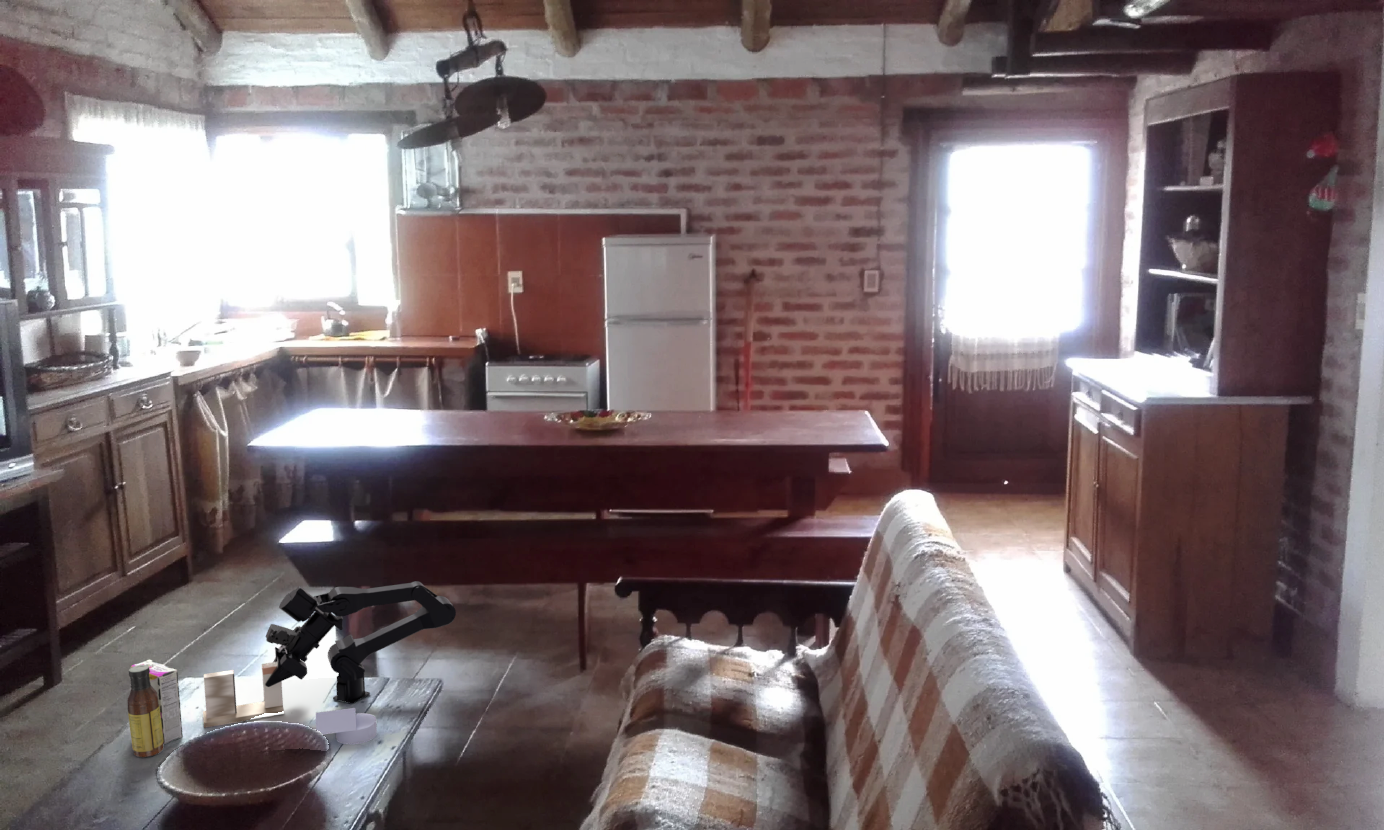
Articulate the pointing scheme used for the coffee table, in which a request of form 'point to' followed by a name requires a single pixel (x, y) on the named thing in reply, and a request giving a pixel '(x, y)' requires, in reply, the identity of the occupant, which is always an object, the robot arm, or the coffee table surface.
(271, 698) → the white tall block
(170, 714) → the candy bar box
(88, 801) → the coffee table surface
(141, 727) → the sauce bottle
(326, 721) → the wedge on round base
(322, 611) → the robot arm
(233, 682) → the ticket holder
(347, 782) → the coffee table surface
